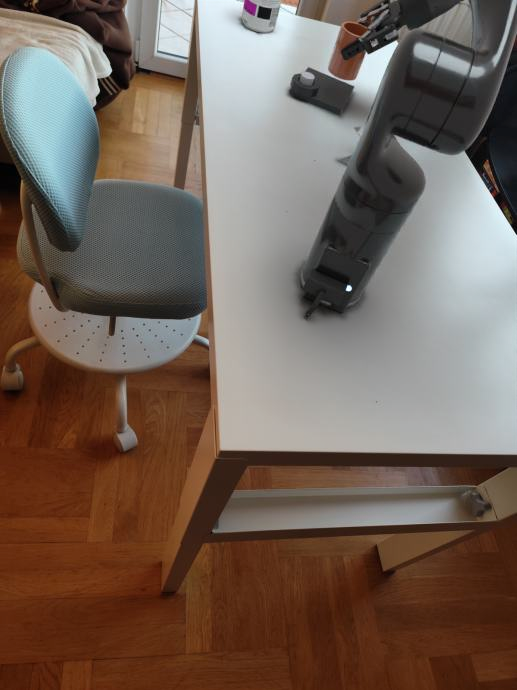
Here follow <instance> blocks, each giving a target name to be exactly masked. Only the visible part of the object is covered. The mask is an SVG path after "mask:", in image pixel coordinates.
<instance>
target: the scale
mask: <svg viewBox="0 0 517 690" xmlns="http://www.w3.org/2000/svg"><path fill="white" fill-rule="evenodd" d="M304 72H309V73H311V74H313V75H314V77H315V78H314V81H313V84H312V86H308V85H304V84H302V83H301V82H299V80H300V76H301V73H302V72H300V73H294V74H293V75H292V77H291V81H290V84H289V86H290V88H291V92H290V96H291V97H294V98H296V99H299V100H301V101H303V102H305V103H307V104H310V105H313V106H315V107H317V108H320V109H321V110H324V111H327V112H329V113H332V114H334V115H335V116H339V117H341V115H342V113H343V110H344V109H345V107H346V105H347V103H348V101H349V99H350V97H351V95H352V93H353V92H354V89H355V86H354V85H352V84H350V83H347V82H345V81H344V80H341V79H339V78H337V77H334V76H331V75H328V74H326V73H324V72H321V71H320V70H316V69H314V68H311V67H310V66H307V68H306V70H305V71H304Z"/></svg>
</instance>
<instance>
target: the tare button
mask: <svg viewBox="0 0 517 690" xmlns="http://www.w3.org/2000/svg"><path fill="white" fill-rule="evenodd" d="M300 73H301V76H300V80H299V82H301V83H302V84H304V85H308V86H312V84H313V81H314V78H315V77H314V75H313V74H311V73H309V72H305V71H302V72H300Z"/></svg>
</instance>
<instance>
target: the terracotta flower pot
mask: <svg viewBox="0 0 517 690" xmlns="http://www.w3.org/2000/svg"><path fill="white" fill-rule="evenodd" d="M367 30H368V28H367V27H365V26H364V25H361V24H359V23H357V22H354V21H343V22H342V23H341V24H340V28H339V31H338V34H337V37H336V40H335V42H334V46H333V48H332V49H333V50H332V53H331V55H330V58H329V61H328V65H327V70H328V72H329V73H330V74H331V75H332V76H333V77H334V78H336V79H338V80H341V81H348V82H349V81H355V80H357V78H358V76H359V73H360V72H361V71H360V70H361V68H362V65H363V62H364V60H365V57H366V54H367V52H364V51H362V52H361V53H359V54H357V55H355V56H354V57H352V58H350V59H348V60H346V61H345V60H344V59H343V57H342V54H341V48H343V47H345V46H346V45H348V44H350V43H351V42H353V41H355V40H356V39H359V38H360V37H361V36H362V35H363V34H365V33H366V32H367Z"/></svg>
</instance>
